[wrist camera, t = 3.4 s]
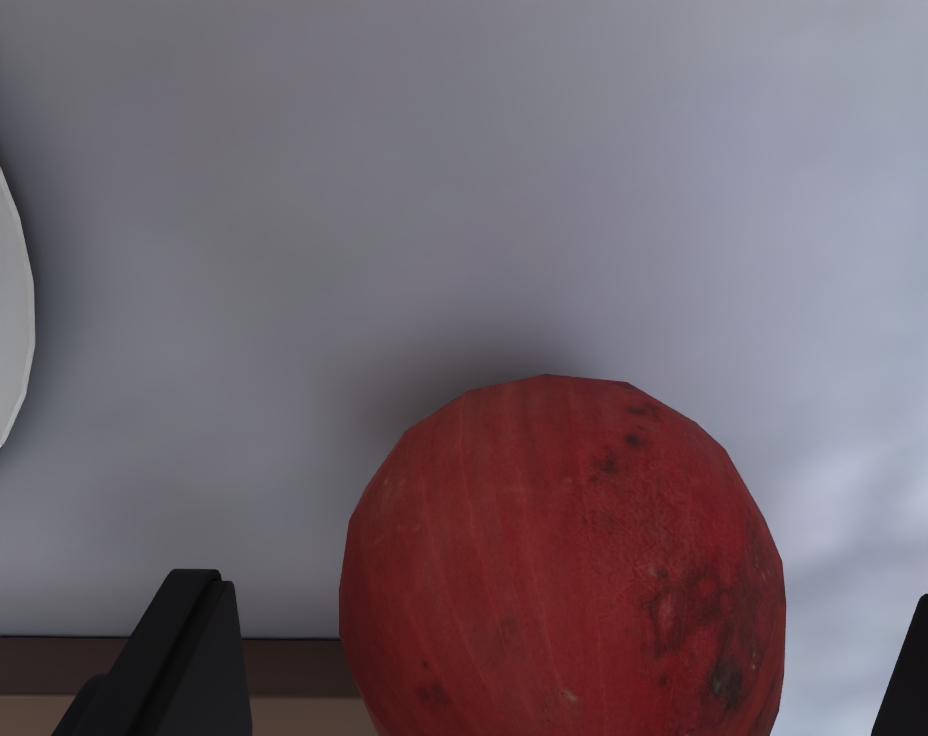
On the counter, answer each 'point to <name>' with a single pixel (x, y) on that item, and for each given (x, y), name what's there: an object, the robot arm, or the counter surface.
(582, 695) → the red round fruit
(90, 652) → the cutting board
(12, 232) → the pudding
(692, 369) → the counter surface
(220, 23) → the counter surface
